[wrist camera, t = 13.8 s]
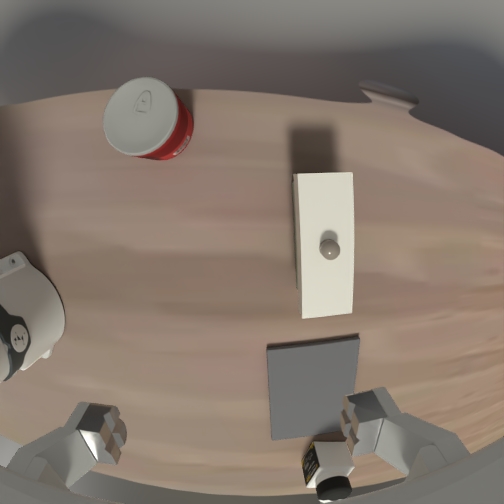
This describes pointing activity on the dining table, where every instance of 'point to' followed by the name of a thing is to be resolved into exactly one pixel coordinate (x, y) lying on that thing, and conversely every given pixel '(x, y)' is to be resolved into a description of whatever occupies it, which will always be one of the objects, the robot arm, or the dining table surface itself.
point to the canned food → (147, 120)
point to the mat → (310, 386)
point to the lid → (324, 243)
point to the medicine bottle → (328, 470)
